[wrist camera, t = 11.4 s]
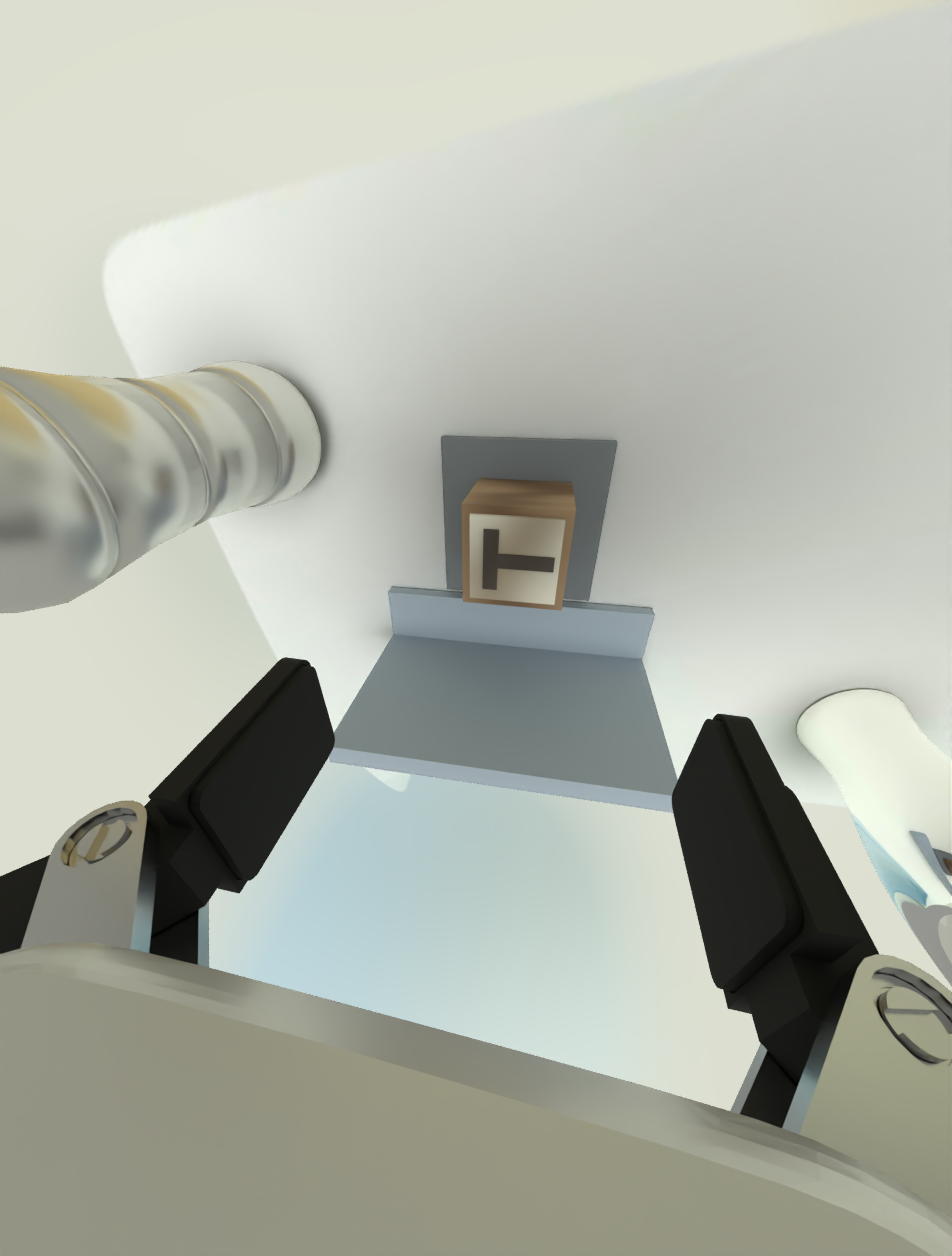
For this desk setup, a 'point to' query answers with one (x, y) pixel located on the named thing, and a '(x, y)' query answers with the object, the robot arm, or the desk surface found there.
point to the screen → (514, 700)
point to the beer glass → (893, 803)
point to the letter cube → (517, 542)
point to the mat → (536, 462)
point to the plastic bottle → (135, 467)
